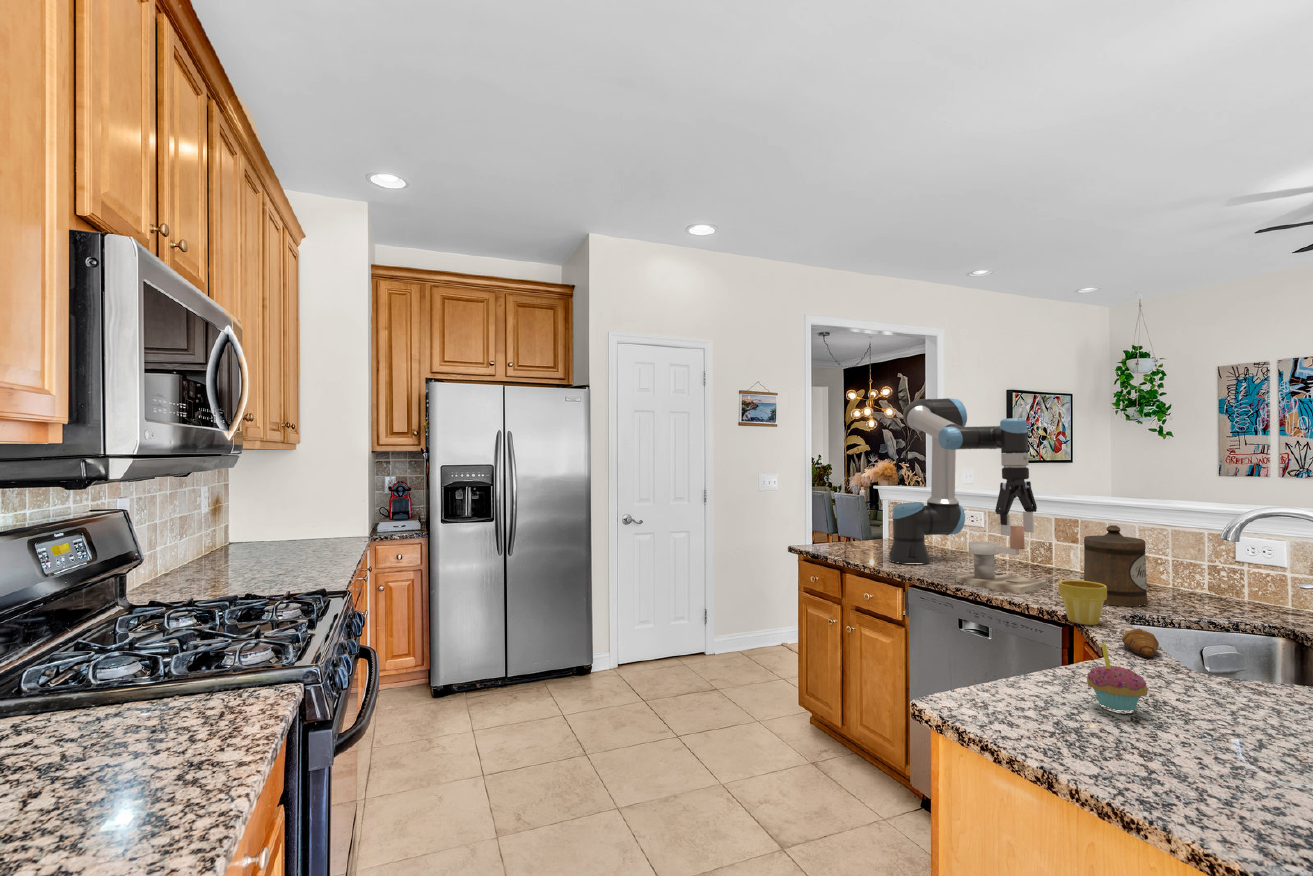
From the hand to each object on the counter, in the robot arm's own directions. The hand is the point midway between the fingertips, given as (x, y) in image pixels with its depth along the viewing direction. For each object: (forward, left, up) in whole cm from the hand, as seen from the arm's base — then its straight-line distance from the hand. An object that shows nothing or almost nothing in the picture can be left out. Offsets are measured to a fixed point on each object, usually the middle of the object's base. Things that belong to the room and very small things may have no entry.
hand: (1017, 533), depth 202 cm
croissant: (+47, -39, -18) cm, 64 cm away
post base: (-7, +3, -18) cm, 19 cm away
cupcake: (+58, -79, -18) cm, 99 cm away
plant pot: (+29, -24, -18) cm, 41 cm away
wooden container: (+24, +7, -18) cm, 31 cm away
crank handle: (-7, 0, -7) cm, 10 cm away
